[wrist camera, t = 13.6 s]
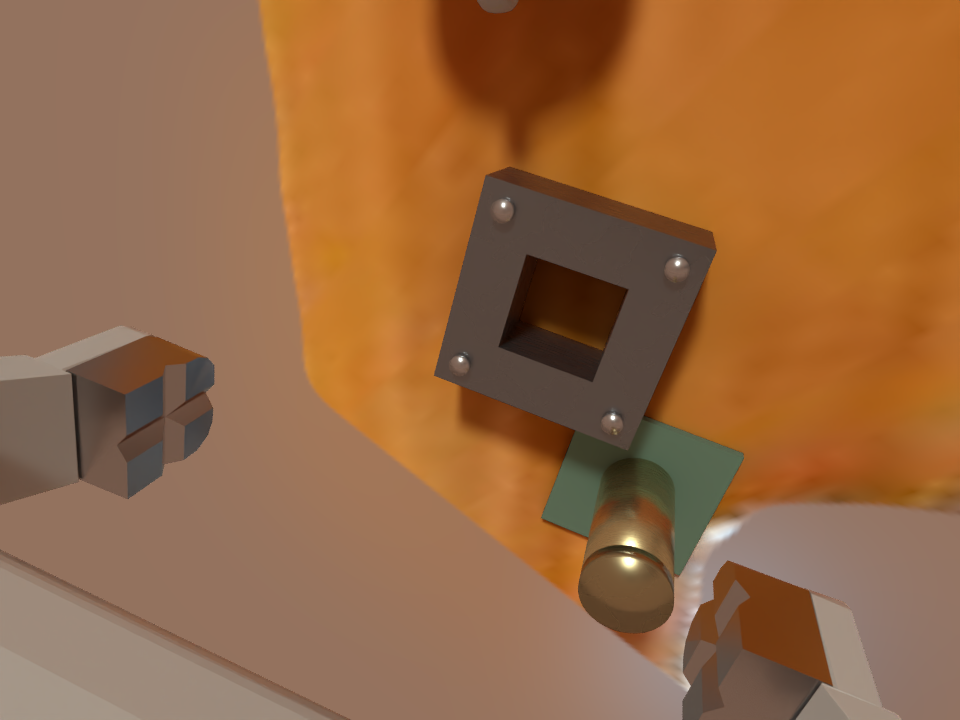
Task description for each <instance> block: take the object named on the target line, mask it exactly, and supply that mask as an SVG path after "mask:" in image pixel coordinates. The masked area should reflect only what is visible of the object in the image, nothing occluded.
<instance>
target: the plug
mask: <svg viewBox="0 0 960 720" xmlns="http://www.w3.org/2000/svg"><path fill="white" fill-rule="evenodd" d="M674 552H675V487H674V483H673V481H672V479H671V477H670V475H669V474H668V473H667V472H666V471H665V470H664V469H663V468H662V467H661V466H659V465H658V464H656V463H654V462H652V461H649V460H646V459H642V458H626V459H622V460H619V461H617V462H615V463H613V464H612V465H610V466H609V467H608V468H607V469H606V470H605V472H604V473H603V475H602V477H601V480H600V485H599V490H598V495H597V499H596V504H595V509H594V513H593V518H592V523H591V528H590V532H589V537H588V542H587V546H586V551H585V556H584V561H583V565H582V570H581V575H580V579H579V585H578V593H579V598H580V601H581V603H582V605H583V607H584V608H585V610H586V611H587V612H588V613H589V615H590V616H592V617H593V618H594V619H595V620H596V621H598V622H599V623H601V624H602V625H604V626H606V627H608V628H610V629H613V630H616V631H620V632H625V633H643V632H648V631H651V630H654V629H656V628H658V627H660V626H661V625H662V624H664V623H665V622H666V621H667V620H668V618H669V617H670V615H671V613H672V611H673V607H674Z"/></svg>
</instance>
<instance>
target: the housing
mask: <svg viewBox="0 0 960 720" xmlns="http://www.w3.org/2000/svg"><path fill="white" fill-rule="evenodd" d="M716 251H717V250H716V245H715V241H714V237H713V233H712V232H710V231H707V230H704V229H701V228H698V227H695V226H692V225H689V224H686V223H683V222H679V221H676V220H673V219H670V218H667V217H664V216H661V215H658V214H655V213H652V212H649V211H645V210H642V209H639V208H636V207H633V206H630V205H627V204H624V203H621V202H618V201H614V200H611V199H608V198H605V197H602V196H599V195H596V194H593V193H590V192H587V191H583V190H580V189H577V188H574V187H571V186H568V185H565V184H562V183H559V182H556V181H552V180H549V179H546V178H543V177H540V176H537V175H534V174H531V173H528V172H525V171H522V170H518V169H515V168H512V167H508V168H505V169H502V170H499V171H496V172H493V173H490V174H488V175H486V177H485V180H484V184H483V188H482V192H481V196H480V200H479V204H478V207H477V211H476V215H475V219H474V223H473V227H472V231H471V235H470V238H469V242H468V246H467V250H466V254H465V258H464V262H463V265H462V269H461V273H460V277H459V281H458V285H457V289H456V292H455V296H454V300H453V304H452V308H451V312H450V316H449V320H448V323H447V327H446V331H445V335H444V339H443V343H442V347H441V350H440V354H439V358H438V362H437V366H436V370H435V374H434V376H437V377H439V378H442V379H444V380H447V381H450V382H452V383H455V384H457V385H460V386H462V387H465V388H468V389H470V390H473V391H475V392H478V393H480V394H483V395H486V396H488V397H491V398H493V399H496V400H499V401H501V402H504V403H506V404H509V405H511V406H514V407H517V408H519V409H522V410H524V411H527V412H529V413H532V414H535V415H537V416H540V417H542V418H545V419H547V420H550V421H553V422H555V423H558V424H560V425H563V426H566V427H568V428H571V429H573V430H576V431H578V432H581V433H584V434H586V435H589V436H591V437H594V438H596V439H599V440H602V441H604V442H607V443H609V444H612V445H614V446H617V447H620V448H622V449H625V450H627V451H628V449H629V447H630V445H631V442H632V440H633V438H634V436H635V433H636V431H637V429H638V427H639V424H640V422H641V420H642V418H643V415H644V413H645V411H646V409H647V406H648V404H649V402H650V400H651V397H652V395H653V393H654V391H655V388H656V386H657V384H658V382H659V379H660V377H661V375H662V373H663V370H664V368H665V366H666V364H667V361H668V359H669V357H670V355H671V352H672V350H673V348H674V346H675V343H676V341H677V339H678V337H679V334H680V332H681V330H682V328H683V325H684V323H685V321H686V319H687V316H688V314H689V312H690V310H691V307H692V305H693V303H694V301H695V298H696V296H697V294H698V292H699V289H700V287H701V285H702V283H703V280H704V278H705V276H706V274H707V271H708V269H709V267H710V265H711V262H712V260H713V258H714V256H715V253H716ZM538 258H540V259H542V260H545V261H548V262H551V263H554V264H557V265H560V266H563V267H566V268H569V269H571V270H574V271H577V272H580V273H583V274H586V275H589V276H592V277H595V278H598V279H600V280H603V281H606V282H609V283H612V284H615V285H618V286H621V287H624V288H626V289H627V290H626V293H625V296H624V298H623V301H622V303H621V306H620V308H619V311H618V314H617V316H616V319H615V321H614V324H613V326H612V329H611V332H610V334H609V337H608V339H607V342H606V344H605V347H604V349H603V351H602V350H599V349H597V348H594V347H591V346H588V345H586V344H583V343H580V342H577V341H575V340H572V339H569V338H566V337H564V336H561V335H558V334H555V333H553V332H550V331H547V330H544V329H542V328H539V327H536V326H533V325H531V324H528V323H525V322H522V321H520V320H519V318H520V315H521V312H522V309H523V306H524V302H525V299H526V296H527V293H528V290H529V286H530V283H531V280H532V277H533V274H534V271H535V267H536V264H537V261H538Z"/></svg>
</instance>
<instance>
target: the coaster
mask: <svg viewBox="0 0 960 720" xmlns="http://www.w3.org/2000/svg"><path fill="white" fill-rule="evenodd" d="M626 458H642V459H646V460H649V461H652V462H654V463H656V464H658V465H659V466H661V467H662V468H663V469H664V470H665V471H666V472H667V473H668V474H669V475H670V477H671V479H672V481H673V483H674V487H675V552H674V573H675V574H677V575H680V574H681V572H682V570H683V568H684V566H685V565H686V563H687V561H688V559H689V557H690V555H691V554H692V552H693V550H694V548H695V546H696V545H697V543H698V541H699V539H700V537H701V535H702V534H703V532H704V530H705V528H706V526H707V524H708V523H709V521H710V519H711V517H712V515H713V514H714V512H715V510H716V508H717V506H718V504H719V503H720V501H721V499H722V497H723V495H724V494H725V492H726V490H727V488H728V486H729V484H730V483H731V481H732V479H733V477H734V475H735V473H736V472H737V470H738V468H739V466H740V464H741V463H742V461H743V459H744V456H743V453H741V452H738V451H736V450H733V449H730V448H728V447H725V446H722V445H720V444H717V443H714V442H712V441H709V440H706V439H704V438H701V437H698V436H696V435H693V434H690V433H688V432H685V431H683V430H680V429H677V428H675V427H672V426H669V425H667V424H664V423H661V422H659V421H656V420H653V419H651V418H648V417H645V416H643V418H642V420H641V422H640V424H639V427H638V429H637V431H636V433H635V436H634V438H633V440H632V442H631V445H630V447H629V449H628V451H627V450H625V449H622V448H620V447H617V446H614V445H612V444H609V443H607V442H604V441H602V440H599V439H596V438H594V437H591V436H589V435H586V434H584V433H581V432H578V431H576V430H575V433H574V435H573V438H572V440H571V443H570V445H569V448H568V450H567V453H566V455H565V458H564V461H563V463H562V466H561V468H560V471H559V473H558V476H557V478H556V481H555V484H554V486H553V489H552V491H551V494H550V496H549V499H548V501H547V504H546V507H545V509H544V512H543V514H542V517H541V518H542V519H545V520H547V521H550V522H552V523H554V524H557V525H559V526H562V527H564V528H566V529H569V530H571V531H574V532H576V533H579V534H581V535H583V536H586V537H589V532H590V528H591V523H592V518H593V513H594V509H595V504H596V499H597V495H598V490H599V485H600V480H601V477H602V475H603V473H604V472H605V470H606V469H607V468H608V467H609V466H610V465H612V464H613V463H615V462H617V461H619V460H622V459H626Z"/></svg>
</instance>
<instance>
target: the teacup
mask: <svg viewBox="0 0 960 720" xmlns="http://www.w3.org/2000/svg"><path fill="white" fill-rule="evenodd" d="M518 1H519V0H477V2H478V3H479V5H480V6H481V7H482V8H483V9H484V10H485V11H487V12H490V13H505V12H508V11H511V10H512V9H513V8H514V7H515V6H516V5H517V3H518Z"/></svg>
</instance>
